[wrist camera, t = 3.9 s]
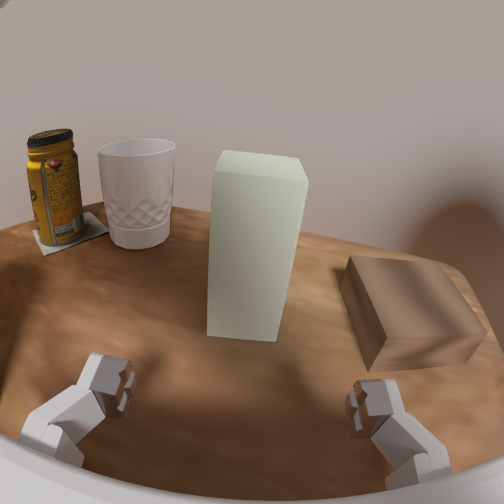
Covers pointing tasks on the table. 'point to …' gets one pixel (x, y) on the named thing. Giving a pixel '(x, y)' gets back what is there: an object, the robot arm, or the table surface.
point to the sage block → (252, 242)
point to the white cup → (137, 190)
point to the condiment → (58, 193)
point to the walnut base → (408, 315)
